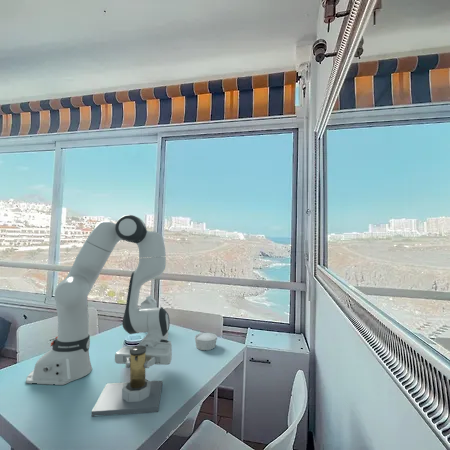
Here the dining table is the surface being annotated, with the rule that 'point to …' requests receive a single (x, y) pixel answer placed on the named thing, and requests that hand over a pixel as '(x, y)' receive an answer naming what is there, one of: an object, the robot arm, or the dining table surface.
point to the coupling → (137, 366)
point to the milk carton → (149, 303)
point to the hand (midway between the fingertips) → (136, 365)
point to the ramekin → (205, 341)
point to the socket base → (123, 406)
